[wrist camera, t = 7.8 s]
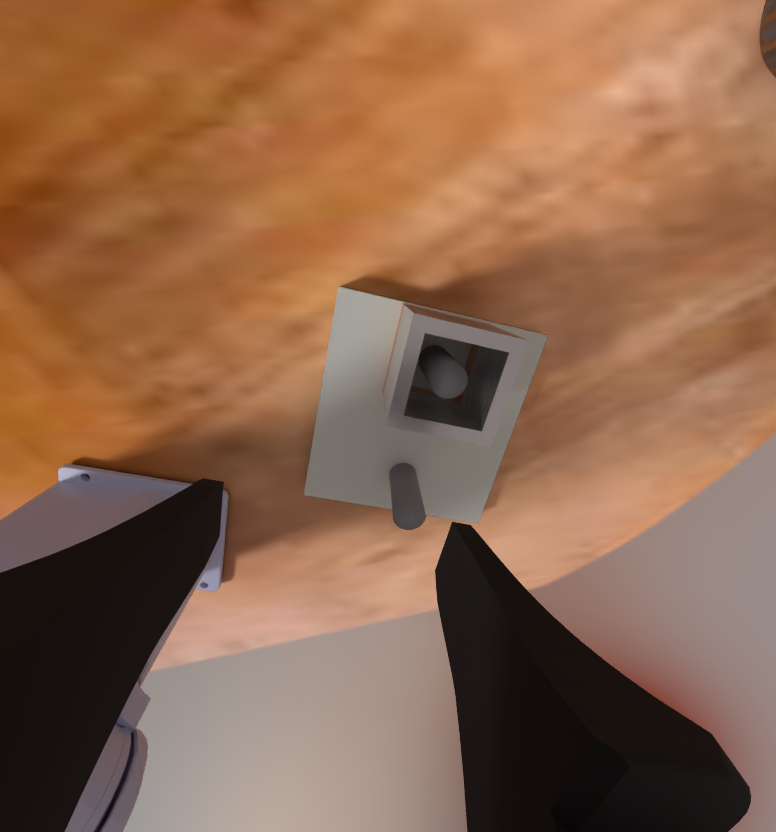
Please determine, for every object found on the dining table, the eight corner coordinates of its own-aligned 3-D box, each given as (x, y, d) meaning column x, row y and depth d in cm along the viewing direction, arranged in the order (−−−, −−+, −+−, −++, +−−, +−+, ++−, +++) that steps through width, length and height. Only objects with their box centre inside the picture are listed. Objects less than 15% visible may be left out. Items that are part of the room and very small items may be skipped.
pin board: (306, 486, 23) (289, 540, 18) (340, 286, 19) (329, 289, 14) (473, 514, 24) (498, 571, 19) (539, 333, 20) (591, 350, 15)
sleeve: (382, 390, 20) (385, 425, 15) (402, 303, 18) (413, 313, 14) (463, 407, 20) (490, 446, 16) (490, 324, 19) (529, 340, 14)
